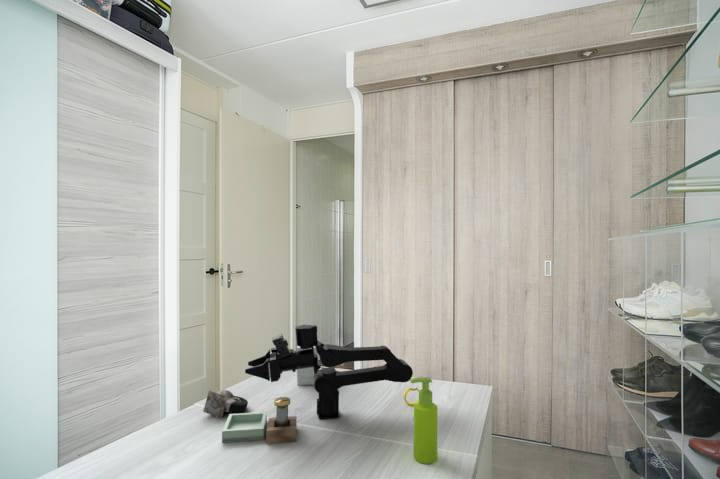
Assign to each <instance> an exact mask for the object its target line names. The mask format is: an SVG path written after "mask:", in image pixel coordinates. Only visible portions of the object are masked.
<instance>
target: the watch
mask: <svg viewBox="0 0 720 479" xmlns="http://www.w3.org/2000/svg"><path fill="white" fill-rule="evenodd" d="M410 391H417V392H419V391H420V389H418V386H416V385H409V386H408V388H407V389H405V391H404V393H403V400H404V402H405V403H406V404H407V405H408V406H414V404H415V403H416V402H419V399H418V400H417V401H416V402H408V401H407V394H408V392H410Z"/></svg>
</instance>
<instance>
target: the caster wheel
mask: <svg viewBox="0 0 720 479" xmlns="http://www.w3.org/2000/svg"><path fill="white" fill-rule="evenodd" d="M248 404H249V402H248V400H247V399H245V398H244V397H241V396H239V395H238V396H237V395H234V394H233V392H231V391H230V390H219V391H216V392H214V391H212V390H209V391H208V394H207V398H206V400H205V404H204V407H203V413H205V414H208V415H211V416H213V417H216V418H221V419H222V417H223V415H224V413H233V414H239V413H245V412H246V410H247V408H248Z"/></svg>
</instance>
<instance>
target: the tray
mask: <svg viewBox="0 0 720 479" xmlns="http://www.w3.org/2000/svg"><path fill="white" fill-rule="evenodd" d="M267 424H268V411H260V412H259V411H257V412H241V413H229V414H228V417H227V419H226V420H225V423H224V426H223V428H222V430H221V443H232V442H246V441H261V440H264V438H265V435H266V429H267Z"/></svg>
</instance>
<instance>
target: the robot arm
mask: <svg viewBox="0 0 720 479" xmlns="http://www.w3.org/2000/svg"><path fill="white" fill-rule="evenodd" d="M294 330H295V338H296V340H295V341H296V347H297V346H300V348H301V349H305V350H298V351H296V350H294V348H289V347H288V346H289V342H288V340H287V339H286V338H284V336H283V334H282V333H280V334H278V335H276V336H274V337H272V344H273V346H274V347H271V348H270V349H268V351H267V352H266V353H265V355H262V356H260V357H258V358H257V357H256V358H254V359H252V360H250V361H248V362H247V365H248V367H249V366H250V367H249V368H245V369H244V373H245V374H247V375H250V376H254V377H257V378H261V379H262V380H267V381H269V382H271V383H274V382H278V381H279V380H280V379H281V375H282V374H283V372H289V371H290V372H291V371H292V373H295V372H296V373H297V370H298V369H304V368H311V367H313V370H314V373H315V374H314V376H313V383H314V385H313V386H314V387H313V388H314V390H315V392H317V393H318V397H317V398H316V416H318V420H321V419H322V420H323V419H324V420H325V419H339V418H340V411H339V410H340V409H339V407H340V405H339V404H340V390H339V389H340V388H342V387H345V386H353V385H361V384H366V383H367V384H368V383H373V382H380V381H387V382H389V381H390V382H393V383H408V382H411V381H410V379H413V378H412V377H413V374H414V372H413V368H412V367H411V366H410V364H408V363H407V362H406V361H405V360H404V359H401V358H398V357H397V356H396V355H395V354H394V353H393V352H392V350H391V349H390V348H389V347H388V346H386V345H379V346H361V347H360V346H358V347H355V346H354V347H344V346H340V345H337V344H329V343H327V344H324V343H323V342H321V341H319V339H318V326H317V325H316V324H315V325H312V324H311V325H310V324H301V325H297V326H296V327H295V329H294ZM313 346H315V348H316V351H317V353H318V356H317V355H316V354H314V347H313ZM309 348H312V349H309ZM297 352H298V354H297ZM319 359H320V363H321V364H322V365H323V366H324V367H323V366H322V365H321V364H320V363H319ZM365 361H366V362H368V361H371V362H372V361H384V362H385V364H383V365H380V366H372V367H365V368H359V369H358V368H357V369H350V370H343V371H339V370H337V369H336V367H337V366H340V365H342V364H346V363H348V362H349V363H350V362H365Z"/></svg>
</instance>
